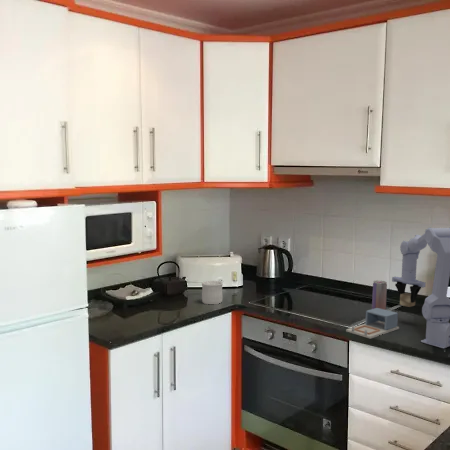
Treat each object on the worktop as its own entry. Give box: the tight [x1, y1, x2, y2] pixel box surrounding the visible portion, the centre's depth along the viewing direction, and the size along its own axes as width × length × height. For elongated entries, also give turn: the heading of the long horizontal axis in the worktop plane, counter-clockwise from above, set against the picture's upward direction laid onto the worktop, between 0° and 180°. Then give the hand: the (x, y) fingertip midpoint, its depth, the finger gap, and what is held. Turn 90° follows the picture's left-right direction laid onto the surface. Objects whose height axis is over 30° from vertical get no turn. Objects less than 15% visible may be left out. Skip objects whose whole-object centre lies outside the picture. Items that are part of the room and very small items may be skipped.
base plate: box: [345, 320, 400, 339], centre depth 222 cm, size 12×20×3 cm, turn 130°
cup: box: [201, 280, 224, 305], centre depth 262 cm, size 10×10×10 cm
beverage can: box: [371, 279, 388, 310], centre depth 244 cm, size 6×6×15 cm
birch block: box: [399, 292, 416, 308], centre depth 231 cm, size 4×4×4 cm
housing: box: [364, 308, 399, 330], centre depth 225 cm, size 10×8×6 cm
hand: (407, 301), depth 231 cm, fingers closed on birch block, 4 cm apart
